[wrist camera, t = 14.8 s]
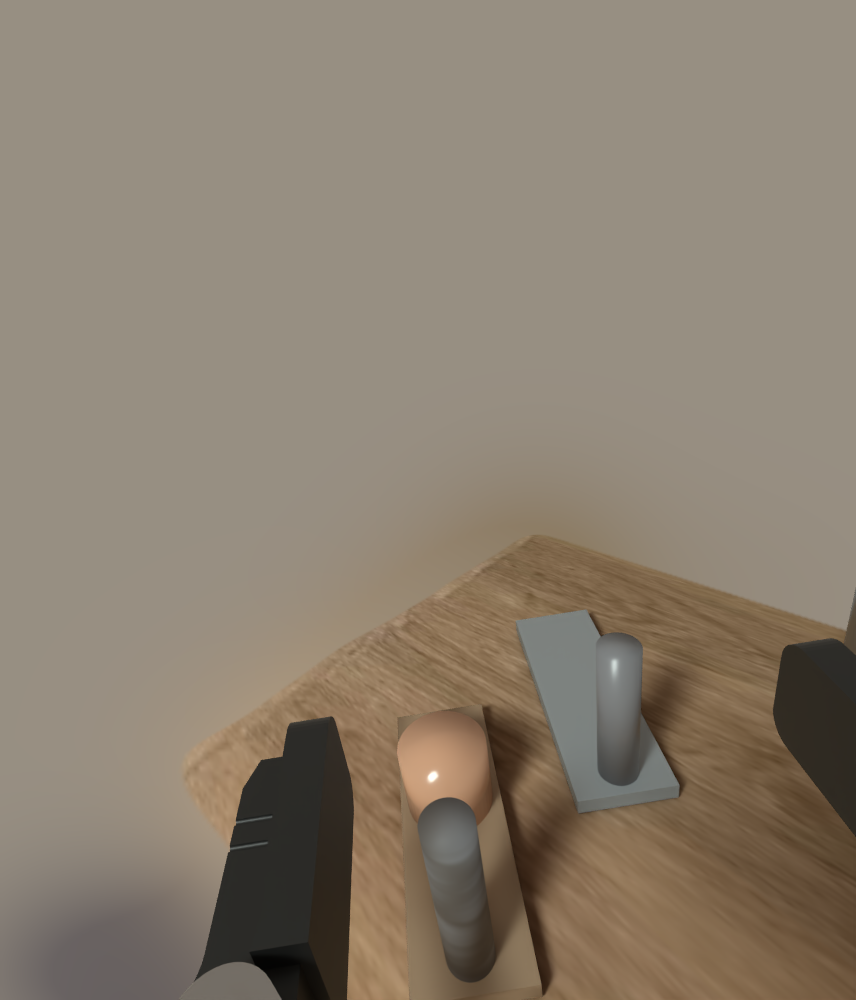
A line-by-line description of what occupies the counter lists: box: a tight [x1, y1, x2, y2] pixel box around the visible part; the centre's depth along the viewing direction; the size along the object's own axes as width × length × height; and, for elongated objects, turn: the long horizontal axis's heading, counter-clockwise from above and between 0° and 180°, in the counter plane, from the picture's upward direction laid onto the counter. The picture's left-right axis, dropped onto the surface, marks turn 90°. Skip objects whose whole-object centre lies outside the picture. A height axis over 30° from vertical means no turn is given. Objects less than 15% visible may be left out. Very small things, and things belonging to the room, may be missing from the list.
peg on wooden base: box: [398, 704, 543, 1000], centre depth 38 cm, size 7×20×12 cm, turn 5°
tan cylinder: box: [397, 711, 493, 826], centre depth 41 cm, size 6×6×5 cm
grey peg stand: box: [516, 610, 679, 813], centre depth 47 cm, size 7×20×12 cm, turn 5°
